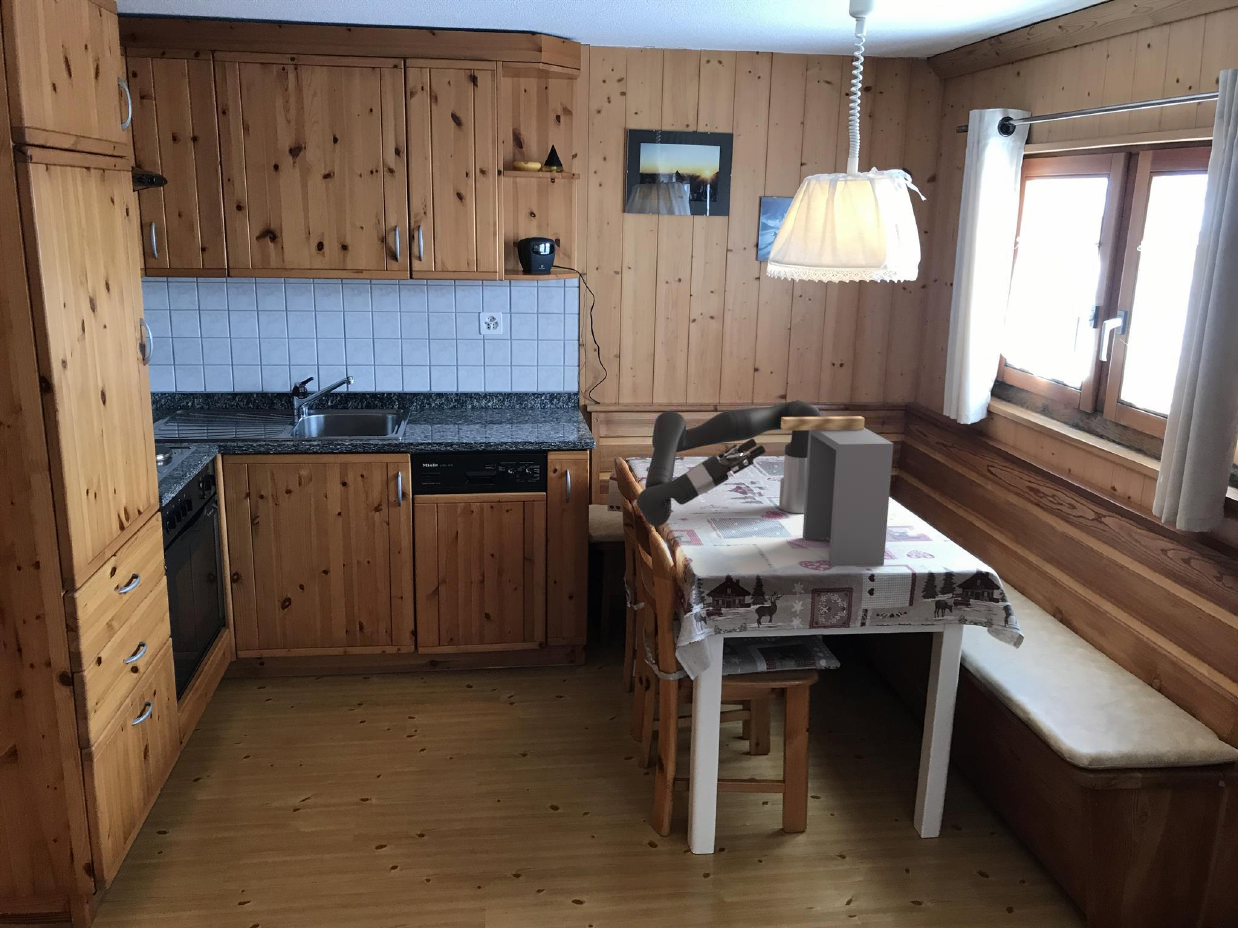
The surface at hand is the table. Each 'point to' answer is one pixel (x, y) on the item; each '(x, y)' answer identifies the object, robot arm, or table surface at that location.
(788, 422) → the wooden rod
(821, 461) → the gray shelf
